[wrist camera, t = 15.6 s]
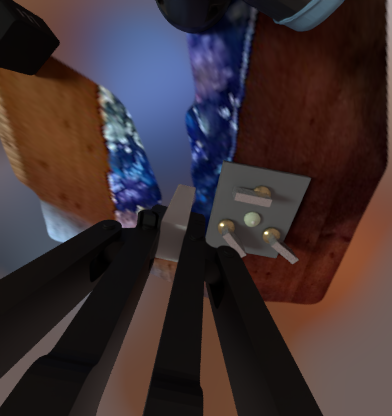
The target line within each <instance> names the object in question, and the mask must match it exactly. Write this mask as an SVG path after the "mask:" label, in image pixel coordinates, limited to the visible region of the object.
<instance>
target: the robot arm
mask: <svg viewBox="0 0 392 416" xmlns="http://www.w3.org/2000/svg"><path fill="white" fill-rule="evenodd" d="M155 1H156V3H157V5H158V8H159V10H160V11H161V13H162V14H163V16H164V17H165V19H166V20H167V21H168V22H169V23H170V24H171V25H173V26H174V27H176V28H177V29H179V30H181V31H184V32H189V33H197V32H202V31H205V30H207V29H209V28H210V27H212V26H213V25H215V24H216V23H217V22H218V21H219V20H220V19H221V17H222V16H223V15H224V13H225V12H226V10H227V8H228V7H229V5H230V2H231V0H155ZM243 1H244V2H246V3H248V4H249V5H251V6H253V7H254V8H256V9H258V10H259V11H261V12H263V13H264V14H266V15H268V16H269V17H271V18H273V21H274V22H275V23H277V24H284V25H286V26H288V27H289V28H291V29H293V30H295V31H308V30H310V29H312V28H314V27H316V26H317V25H319V24H320V23H321V22H323V21H324V20H325V19H326V18H328V17H329V16H330V15H331V14H332V13H333V12H334V11H335V10H336V9H337V8H338V7H339V6H340V5H341V4H342V3H343V2H344V1H345V0H243ZM194 193H195V188H193V187H189V186H185V185H181V184H179V185H178V187H177V190H176V191H175V194H174V196H173V198H172V200H171V202H170V204H169V206H168V207H166V206H162V205H158V204H157V205H155V206H153V207H152V209H151V210H149V209H148V210H142V211H140V212H138V220H137V225H136V227H135V228H122V225H121V223H120V222H118V221H115V220H103V221H101V222H98V223H97V224H95V225H93V226H92V227H90V228H88V229H86V230H85V231H83V232H81V233H79V234H78V235H76V236H74V237H73V238H71V239H69V240H67V241H66V242H64V243H62V244H60V245H59V246H57V247H55V248H54V249H52V250H50V251H49V252H47V253H45V254H43V255H42V256H40V257H38V258H36V259H35V260H33V261H31V262H29V263H28V264H26V265H24V266H23V267H21V268H19V269H17V270H16V271H14V272H12V273H10V274H9V275H7V276H6V277H4V278H2V279H0V378H1V377H2V376H3V375H4V374H6V373H7V372H8V371H9V370H10V369H11V368H12V367H13V366H14V365H15V364H16V363H17V362H18V361H19V360H20V359H21V358H22V357H23V356H24V355H25V354H26V353H27V352H28V351H29V350H31V349H32V348H33V347H34V346H35V345H36V344H37V343H38V342H39V341H40V340H41V339H42V338H43V337H44V336H45V335H46V334H47V333H48V332H49V331H50V330H51V329H52V328H53V327H54V326H56V325H57V324H58V323H59V322H60V321H61V320H62V319H63V318H64V317H65V316H66V315H67V314H68V313H69V312H70V311H71V310H72V309H73V308H74V307H75V306H76V305H77V304H78V303H79V302H80V301H81V300H83V299H84V298H85V297H86V296H87V295H88V294H89V293H90V292H91V291H92V292H91V293H90V295H89V296H88V298H87V299H86V301H85V302H84V304H83V305H82V307H81V308H80V310H79V311H78V313H77V314H76V316H75V317H74V319H73V320H72V322H71V323H70V325H69V326H68V327H67V329H66V331H65V332H64V333H63V335H62V336H61V338H60V339H59V341H58V342H57V344H56V345H55V347H54V348H53V349H52V350H51V352H50V353H48V354H47V355H44V356H42V357H39V358H38V359H37V360H36V361H35V362H34V363H33V364H32V365H31V366H30V367H29V369H28V370H27V371H26V372H25V374H24V375H23V376H22V378H21V379H20V381H19V382H18V383H17V385H16V386H15V388H14V389H13V390H12V392H11V393H10V394H9V396H8V397H7V399H6V400H5V401H4V403H3V404H2V405H1V407H0V416H96V413H97V409H98V406H99V402H100V400H101V397H102V394H103V392H104V389H105V387H106V384H107V381H108V379H109V376H110V374H111V371H112V369H113V366H114V363H115V361H116V358H117V356H118V353H119V351H120V348H121V345H122V343H123V340H124V337H125V335H126V333H127V330H128V327H129V325H130V322H131V320H132V317H133V314H134V312H135V309H136V307H137V304H138V301H139V299H140V296H141V294H142V291H143V289H144V286H145V283H146V281H147V278H148V276H149V273H150V271H151V268H152V266H153V263H154V257H155V254H156V257H157V258H162V259H166V260H170V261H175V262H178V264H177V268H176V272H175V277H174V281H173V286H172V290H171V295H170V298H169V303H168V307H167V311H166V316H165V320H164V324H163V329H162V333H161V337H160V342H159V346H158V350H157V355H156V359H155V363H154V368H153V372H152V377H151V381H150V385H149V389H148V394H147V398H146V402H145V407H144V411H143V415H142V416H203V391H202V388H201V386H200V362H201V340H202V339H201V338H202V318H203V296H204V281H205V282H206V288H207V292H208V296H209V300H210V304H211V308H212V312H213V316H214V320H215V324H216V328H217V332H218V337H219V340H220V345H221V349H222V353H223V356H224V361H225V365H226V369H227V373H228V377H229V381H230V385H231V389H232V393H233V397H234V401H235V405H236V409H237V413H238V416H323V414H322V413H321V411H320V409H319V407H318V405H317V403H316V401H315V399H314V397H313V395H312V393H311V391H310V389H309V387H308V385H307V384H306V382H305V380H304V378H303V376H302V374H301V372H300V370H299V368H298V366H297V364H296V362H295V361H294V358H293V357H292V355H291V353H290V351H289V349H288V347H287V345H286V343H285V341H284V339H283V337H282V335H281V333H280V332H279V330H278V328H277V326H276V324H275V322H274V320H273V318H272V316H271V314H270V312H269V310H268V309H267V307H266V305H265V303H264V301H263V299H262V297H261V295H260V293H259V291H258V289H257V287H256V285H255V283H254V282H253V280H252V278H251V276H250V274H249V272H248V270H247V268H246V266H245V264H244V262H243V260H242V258H241V257H240V255H239V253H238V252H237V250H235V249H234V248H232V247H230V246H226V245H221V246H219V247H218V248H217V249H216V248H214V247H212V246H210V245H209V244H208V243H207V242H206V238H205V237H204V236H205V217H204V215H203V214H198V213H194V212H190V211H191V207H192V202H193V197H194Z"/></svg>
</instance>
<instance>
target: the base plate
mask: <svg viewBox="0 0 392 416" xmlns="http://www.w3.org/2000/svg"><path fill="white" fill-rule="evenodd" d="M310 180H311V178H310V177H308V176H304V175H299V174H293V173H288V172H283V171H278V170H272V169H267V168H262V167H256V166H251V165H246V164H241V163H235V162H230V161H225V160H223V164H222V169H221V173H220V177H219V182H218V186H217V190H216V194H215V199H214V203H213V207H212V212H211V216H210V220H209V225H208V229H207V233H206V242H207V243H208V244H209V245H210V246H212V247H217V248H218V247H219V246H221V245H226V246H230V245H229V244H228V243H227V242H226V240H225V239H224V238H223V237H222V234H220V233H219V231H218V223H219V222H220V221H221V220H223V219H230V220H231V221H233V223H234V226H235V230H234V233H235V235H236V236H237V237H238V239H239V240H240V241H241V242H242V244H243V245H244V249H245V252H246V253H251V254H256V255H262V256H267V257H273V258H276V257H277V255H278V253H279V252H277V251H276V250H275V249H274V248H273V247H271V245H270V243H266V242H265V241H264V240H263V238H262V232H263V231H264V230H265V229H266V228H268V227H274V228H276V229H277V230H278V231H279V233H280V238H279V239H280V240H281V241H284V239H285V237H286V235H287V232H288V230H289V228H290V225H291V223H292V221H293V219H294V216H295V214H296V212H297V210H298V207H299V205H300V203H301V201H302V198H303V196H304V194H305V191H306V189H307V187H308V185H309V182H310ZM257 186H265V187H267V188H268V189H269V190H270V192H271V197H270V198H271V199H272V202H271V205H270V207H265V206H260V205H255V204H251V203H246V202H241V201H236V200H234V198H233V195H232V192H233V189H234V187H239V188H244V189H249V190H253V189H254V188H255V187H257ZM230 247H231V246H230Z"/></svg>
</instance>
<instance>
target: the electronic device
mask: <svg viewBox="0 0 392 416" xmlns="http://www.w3.org/2000/svg"><path fill="white" fill-rule="evenodd" d="M59 43H60V42H59V40H58V39H57V37H56V36H55V35H54V34H53V32H52V31H51V30H50V28H49V27H48V26H47V24H46V23H45V22H44V21H43V19H41V18H40V17H38V16H37V15H35V14H33V13H32V12H30V11H28V10H27V9H25V8H24V7H22V6H21V5H19V4H17V3H16V2H14V1H13V0H0V68H4V69H8V70H12V71H15V72H19V73H23V74H27V75H34V74H35V73H36V72H37V71H38V70H39V69H40V67H41V66H42V65H43V64H44V63H45V61H46V60H47V59H48V58H49V57H50V56H51V54H52V53H53V52H54V50H55V49H56V48H57V47H58V46H59Z"/></svg>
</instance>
